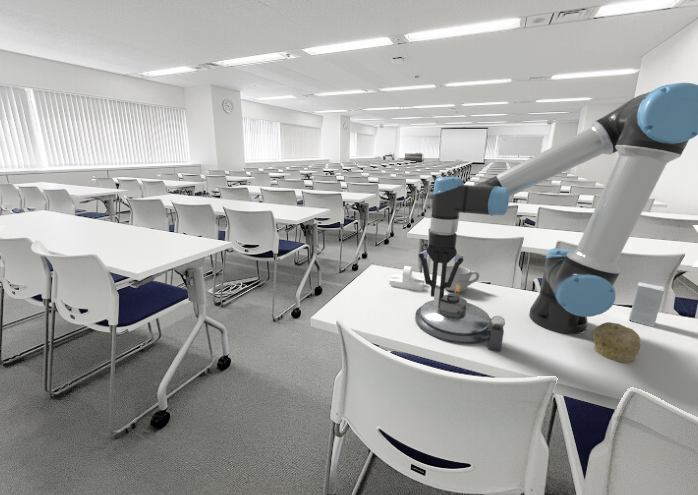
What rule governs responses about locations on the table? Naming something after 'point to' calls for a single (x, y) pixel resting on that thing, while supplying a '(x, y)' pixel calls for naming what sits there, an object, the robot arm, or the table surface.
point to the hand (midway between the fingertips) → (436, 306)
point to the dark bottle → (496, 333)
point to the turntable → (467, 326)
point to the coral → (616, 342)
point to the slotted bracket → (407, 280)
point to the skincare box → (646, 304)
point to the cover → (452, 306)
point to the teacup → (460, 277)
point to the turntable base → (450, 337)
